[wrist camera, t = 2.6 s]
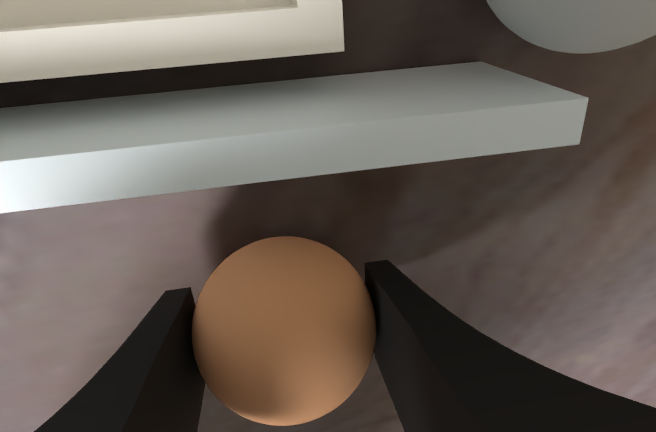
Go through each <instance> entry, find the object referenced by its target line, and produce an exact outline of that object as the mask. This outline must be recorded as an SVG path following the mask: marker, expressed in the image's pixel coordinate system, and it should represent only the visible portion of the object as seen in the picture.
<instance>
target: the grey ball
mask: <svg viewBox="0 0 656 432" xmlns="http://www.w3.org/2000/svg"><path fill="white" fill-rule="evenodd" d="M486 1H487V3H488V5H489V6H490V8H491V9H492V11H493V12H494V13H495V15H496V16H497V18H498V19H499V20H500V21H501V22H502V23H503V24H504V25H505V26H506V27H507V28H508V29H510V30H511V31H512V32H514V33H515V34H516V35H518V36H519V37H521V38H522V39H524V40H526V41H528V42H530V43H532V44H534V45H536V46H539V47H542V48H545V49H549V50H552V51H558V52H565V53H574V54H583V53H598V52H604V51H610V50H615V49H619V48H622V47H625V46H629V45H632V44H635V43H638V42H641V41H643V40H645V39H647V38H650V37H652V36H654V35H656V0H486Z"/></svg>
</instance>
